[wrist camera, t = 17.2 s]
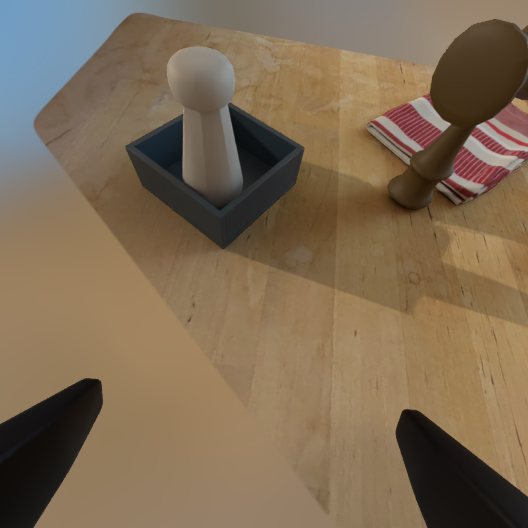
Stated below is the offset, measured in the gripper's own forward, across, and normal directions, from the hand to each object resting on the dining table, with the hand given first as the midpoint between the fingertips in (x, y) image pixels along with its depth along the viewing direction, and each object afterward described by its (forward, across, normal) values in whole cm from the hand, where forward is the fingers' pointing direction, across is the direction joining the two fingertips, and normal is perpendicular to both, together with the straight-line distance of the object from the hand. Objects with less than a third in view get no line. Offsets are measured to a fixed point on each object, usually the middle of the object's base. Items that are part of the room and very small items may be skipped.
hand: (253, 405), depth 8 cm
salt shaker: (+22, +5, -4) cm, 23 cm away
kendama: (+26, -17, -7) cm, 32 cm away
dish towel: (+35, -27, -16) cm, 47 cm away
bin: (+25, +5, -6) cm, 26 cm away
